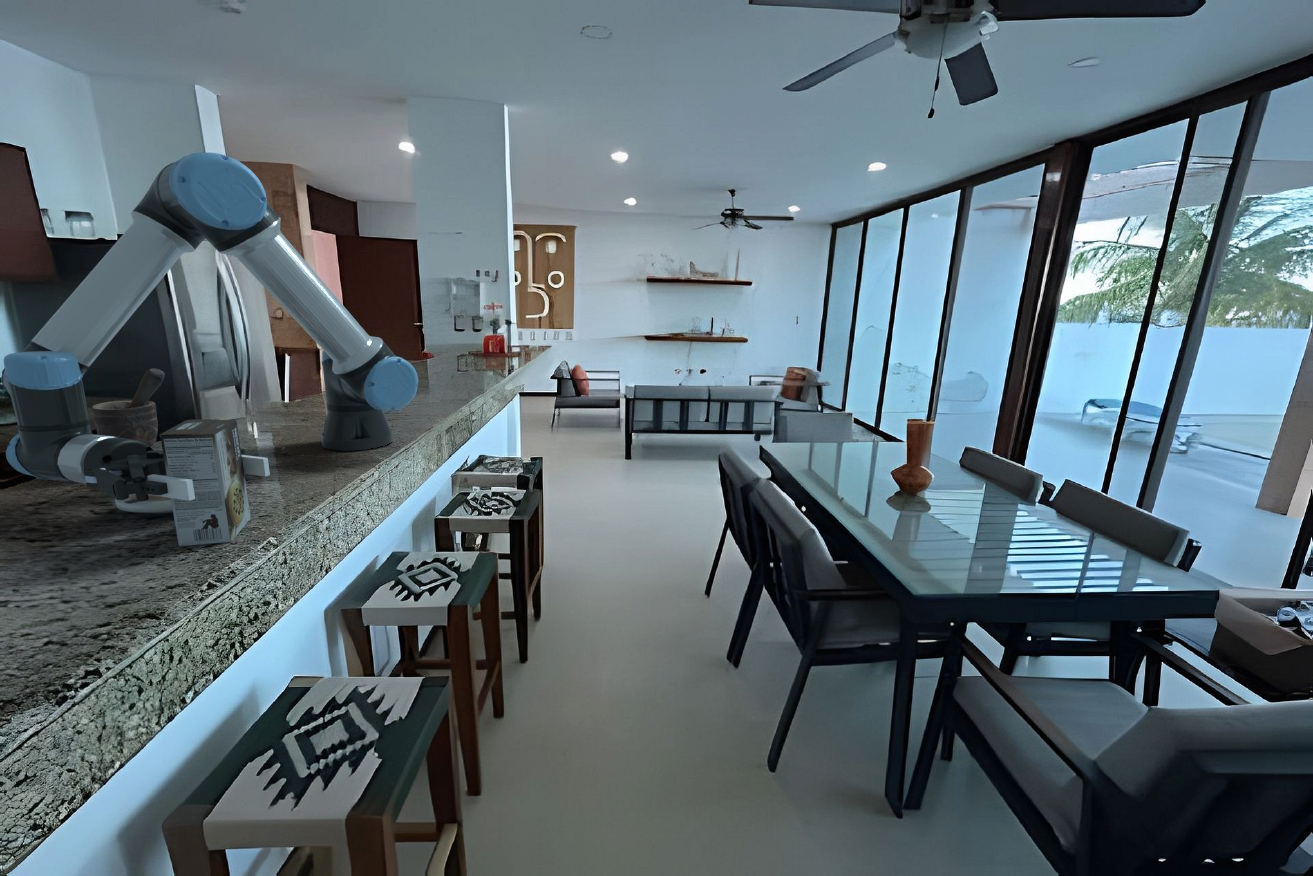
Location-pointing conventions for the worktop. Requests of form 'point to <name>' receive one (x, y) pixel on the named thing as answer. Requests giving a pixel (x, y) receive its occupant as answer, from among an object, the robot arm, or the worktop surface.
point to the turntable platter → (144, 504)
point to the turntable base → (156, 514)
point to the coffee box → (207, 480)
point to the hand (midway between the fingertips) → (231, 477)
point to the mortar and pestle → (131, 413)
